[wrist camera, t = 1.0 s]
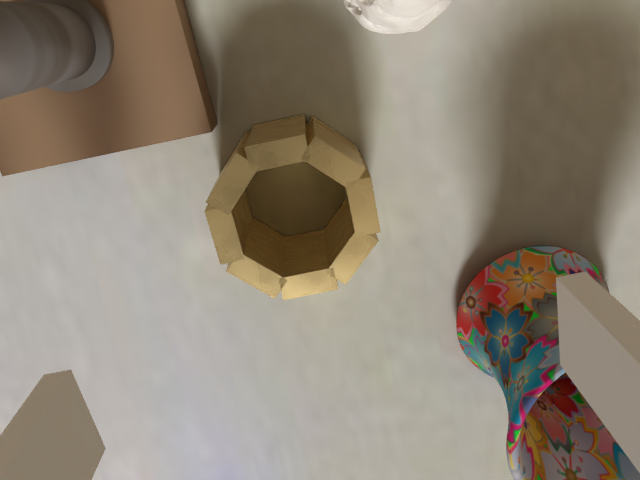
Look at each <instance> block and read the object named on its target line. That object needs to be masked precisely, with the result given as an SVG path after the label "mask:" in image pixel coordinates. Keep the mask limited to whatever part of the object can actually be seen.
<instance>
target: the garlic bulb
mask: <svg viewBox="0 0 640 480" xmlns="http://www.w3.org/2000/svg"><path fill="white" fill-rule="evenodd" d="M343 1H344V4H345V6H346V8H347V9H348V10H349V11H350V12H351V13H352V14H353V15H354V17H355V18H356V20H357V21H358V22H359V23H360V24H361V25H362V26H363V27H364V28H366V29H368V30H370V31H374V32H377V33H387V34H399V33H407V32H414V31H418V30H420V29H422V28H423V27H425V26H426V25H427V24H429V23H430V21H431V20H433V19H434V18H436V17H437V16H438V15H439V14H440V13H442V12H443V11H444V10H445V9H446V8H447V7H448V6H449V4H450V3H451V2H452V0H343Z"/></svg>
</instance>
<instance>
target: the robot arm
mask: <svg viewBox="0 0 640 480" xmlns="http://www.w3.org/2000/svg"><path fill="white" fill-rule="evenodd" d="M556 288H557V309H558V330H559V351H560V365H561V367H562V368H563V369H564V371H565V372H566V374H567V375H568V376H569V378H570V379H571V380H572V382H573V383H574V384H575V386H576V387H577V389H578V390H579V391H580V393H581V394H582V395H583V397H584V398H585V399H586V401H587V402H588V403H589V405H590V406H591V408H592V409H593V410H594V412H595V413H596V414H597V416H598V417H599V418H600V420H601V421H602V423H603V424H604V425H605V427H606V428H607V429H608V431H609V432H610V433H611V435H612V436H613V438H614V439H615V440H616V442H617V443H618V444H619V446H620V447H621V448H622V450H623V451H624V453H625V454H626V455H627V457H628V458H629V459H630V461H631V462H632V463H633V465H634V466H635V468H636V469H637V470H638V472H639V473H640V321H639V320H638V319H637V318H636V317H635V316H634V315H633V314H632V313H631V312H629V311H628V310H627V309H626V308H625V307H624V306H623V305H622V304H621V303H620V302H618V301H617V300H616V299H615V298H614V297H613V296H612V295H611V294H610V293H609V292H607V291H606V290H605V289H604V288H603V287H602V286H601V285H600V284H599V283H598V282H596V281H595V280H594V279H593V278H592V277H591V276H590V275H589V274H588V273H587V272H581V273H575V274H570V275H565V276H560V277H556ZM104 450H105V446H104V444H103V441H102V439H101V437H100V435H99V432H98V430H97V428H96V426H95V423H94V421H93V419H92V416H91V414H90V412H89V410H88V407H87V405H86V403H85V401H84V398H83V396H82V394H81V391H80V389H79V387H78V385H77V382H76V380H75V378H74V375H73V373H72V371H71V370H67V371H62V372H56V373H51V374H46V375H43V377H42V378H41V380H40V381H39V382H38V384H37V385H36V387H35V388H34V389H33V391H32V392H31V394H30V395H29V396H28V398H27V399H26V401H25V402H24V403H23V405H22V406H21V408H20V409H19V410H18V412H17V413H16V415H15V416H14V417H13V419H12V420H11V422H10V423H9V424H8V426H7V427H6V429H5V430H4V431H3V433H2V434H1V436H0V480H91V479H92V477H93V475H94V472H95V470H96V468H97V466H98V464H99V461H100V459H101V457H102V455H103V453H104Z"/></svg>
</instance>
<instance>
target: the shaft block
mask: <svg viewBox="0 0 640 480" xmlns="http://www.w3.org/2000/svg"><path fill="white" fill-rule="evenodd" d="M216 125H217V121H216V117H215V114H214V110H213V106H212V102H211V99H210V95H209V91H208V88H207V84H206V80H205V77H204V73H203V69H202V66H201V62H200V58H199V55H198V51H197V47H196V43H195V40H194V36H193V32H192V29H191V25H190V21H189V18H188V14H187V10H186V7H185V3H184V0H0V171H1V174H2V176H6V175H10V174H15V173H20V172H25V171H29V170H34V169H39V168H44V167H48V166H53V165H58V164H62V163H67V162H72V161H77V160H81V159H86V158H91V157H96V156H100V155H105V154H110V153H114V152H119V151H124V150H129V149H133V148H138V147H143V146H147V145H152V144H157V143H162V142H166V141H171V140H176V139H181V138H185V137H190V136H195V135H199V134H204V133H209V132H212V130H213V129H214V128H215V127H216Z"/></svg>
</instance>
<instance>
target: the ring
mask: <svg viewBox="0 0 640 480" xmlns="http://www.w3.org/2000/svg"><path fill="white" fill-rule="evenodd" d="M300 162H307V163H308V164H310V165H312V166H313V167H315V168H316V169H318V170H319V171H321V172H323V173H324V174H326V175H327V176H329V177H330V178H332V179H334V180H335V181H337V182H338V183H340V184H341V185H343V186H344V189H345V194H346V199H345V200H344V202H343V203H342V205H341V206H340V207H339V209H338V210H337V212H336V213H335V214H334V216H333V217H332V219H331V220H330V222H329V223H328V224H327V226H326V227H325V229H322V230H318V231H313V232H308V233H303V234H298V235H293V236H288V237H285V236H284V235H282V234H280V233H279V232H277V231H275V230H274V229H272V228H270V227H268V226H267V225H265V224H263V223H262V222H260V221H258V220H257V219H255V218H253V217H252V214H251V210H250V206H249V202H248V199H247V195H246V191H245V189H246V187H247V185H248V184H249V182H250V181H251V179H252V178H253V176H254V174H255V173H256V171H261V170H266V169H271V168H276V167H280V166H285V165H290V164H295V163H300ZM206 203H208V205H207V207H206V209H205V214H206V217H207V221H208V224H209V227H210V231H211V234H212V238H213V241H214V244H215V248H216V251H217V254H218V258H219V261H220V264H225V263H228V266H227V270H226V271H227V272H228V273H230V274H232V275H234V276H236V277H237V278H239V279H241V280H243V281H244V282H246V283H248V284H250V285H252V286H253V287H255V288H257V289H259V290H260V291H262V292H264V293H266V294H268V295H269V296H271V297H273V298H275V297H276V296H277V295H278V293H279V292H280V290H281V292H282V296H283V300H286V299H291V298H296V297H301V296H306V295H311V294H316V293H321V292H327V291H332V290H337V289H338V284H337V280H339V281H341V282H342V283H344V284H347V282H348V281H349V280H350V278H351V277H352V276H353V274H354V273H355V272H356V270H357V269H358V268H359V266H360V265H361V263H362V262H363V261H364V259H365V258H366V257H367V255H368V254H369V253H370V251H371V250H372V249H373V247H374V246H375V245H376V243H377V242H378V238H377V235H376V233H379V232H380V226H379V221H378V215H377V209H376V203H375V198H374V192H373V186H372V180H371V176H370V174H369V172H368V169H367V167H366V165H365V162H364V160H363V158H362V155H361V153H360V151H358V150H357V147H356V145H355V143H353V142H352V141H350V140H349V139H347V138H345V137H344V136H342V135H341V134H339V133H338V132H336V131H335V130H333V129H332V128H330V127H329V126H327V125H326V124H324V123H323V122H321V121H320V120H318V119H317V118H315V117H314V116H312V117H311V119H310V120H309V122H308V124H306V120H305V115H304V114H303V115H298V116H293V117H289V118H284V119H279V120H274V121H270V122H265V123H260V124H255V125H253V128H252V130H251V132H250V131H249V130H246V132H245V134H244V135H243V137H242V139H241V140H240V142H239V143H238V145H237V147H236V148H235V150H234V152H233V153H232V155H231V157H230V158H229V160H228V161H227V163H226V165H225V166H224V168H223V170H222V171H221V173H220V175H219V177H218V179H217V181H216V183H215V185H214V187H213V189H212V191H211V193H210V195H209V197H208V199H207V201H206Z"/></svg>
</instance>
